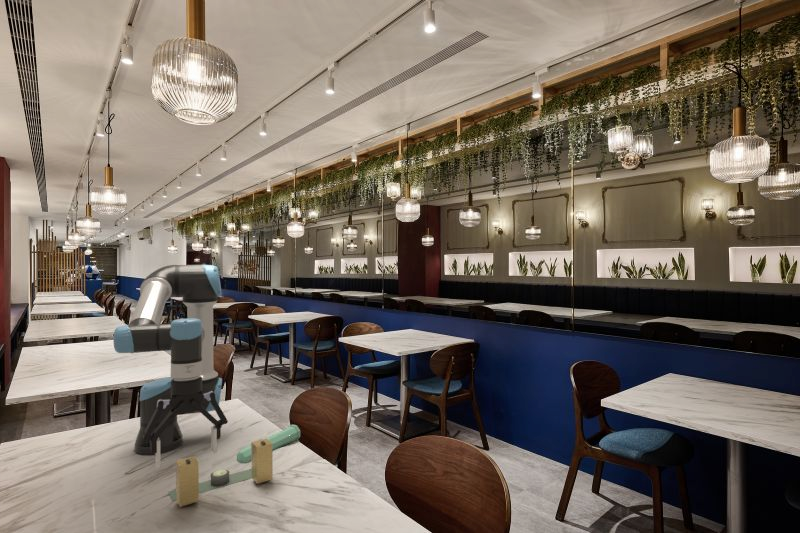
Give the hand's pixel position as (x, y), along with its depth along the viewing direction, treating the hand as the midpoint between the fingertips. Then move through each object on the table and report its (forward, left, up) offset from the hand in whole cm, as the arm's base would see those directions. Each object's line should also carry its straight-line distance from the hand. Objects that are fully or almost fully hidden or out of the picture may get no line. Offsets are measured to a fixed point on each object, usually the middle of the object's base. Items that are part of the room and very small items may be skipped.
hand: (187, 457), depth 117 cm
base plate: (-4, +10, -13) cm, 17 cm away
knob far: (0, +20, -12) cm, 24 cm away
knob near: (0, 0, -12) cm, 12 cm away
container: (-22, +30, -14) cm, 40 cm away
